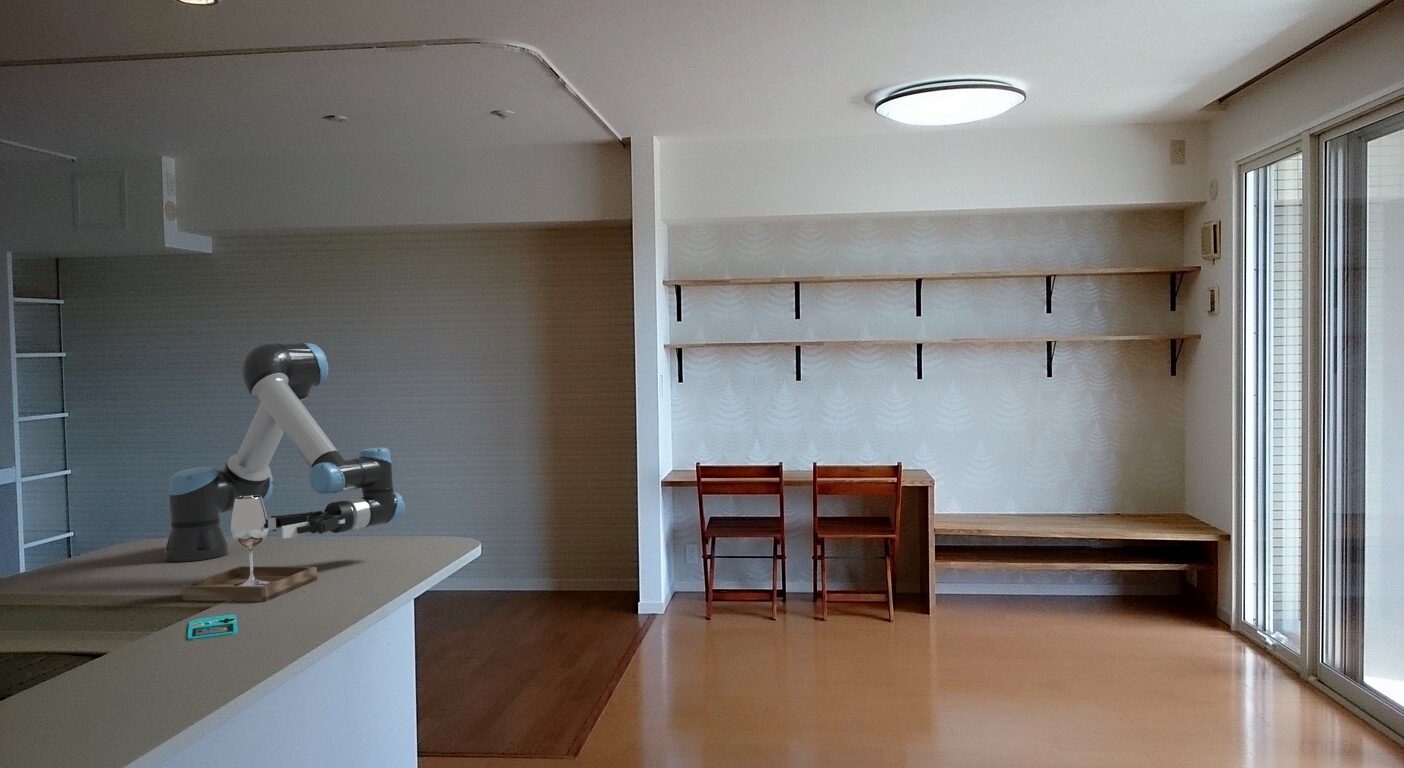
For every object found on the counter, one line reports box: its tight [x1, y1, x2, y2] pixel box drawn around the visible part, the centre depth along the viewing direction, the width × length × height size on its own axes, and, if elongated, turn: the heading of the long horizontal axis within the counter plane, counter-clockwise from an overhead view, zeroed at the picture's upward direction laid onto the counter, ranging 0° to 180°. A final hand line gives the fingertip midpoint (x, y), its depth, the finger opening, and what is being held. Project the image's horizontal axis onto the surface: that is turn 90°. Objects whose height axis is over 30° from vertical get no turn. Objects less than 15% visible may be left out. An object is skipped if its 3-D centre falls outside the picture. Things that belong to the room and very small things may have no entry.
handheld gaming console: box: [187, 614, 238, 640], centre depth 190 cm, size 8×1×15 cm
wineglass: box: [230, 495, 270, 586], centre depth 222 cm, size 8×8×20 cm
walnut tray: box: [181, 565, 318, 602], centre depth 222 cm, size 20×20×3 cm
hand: (265, 530), depth 224 cm, fingers open, 13 cm apart
